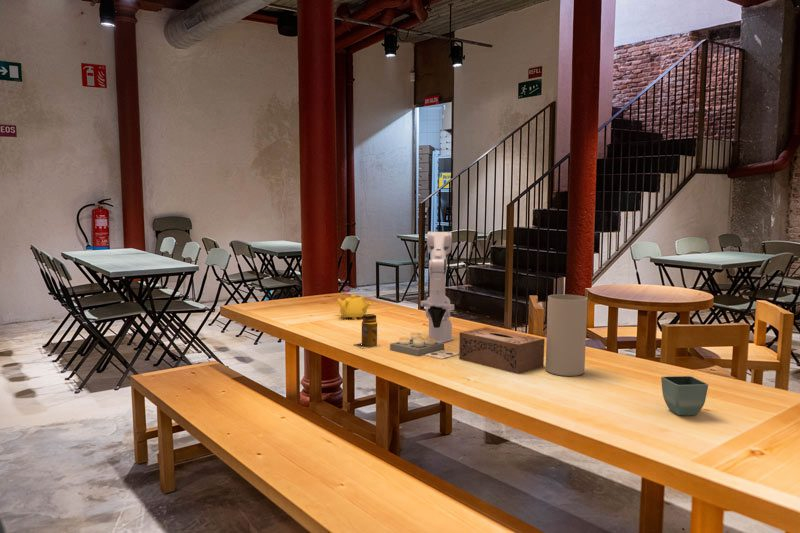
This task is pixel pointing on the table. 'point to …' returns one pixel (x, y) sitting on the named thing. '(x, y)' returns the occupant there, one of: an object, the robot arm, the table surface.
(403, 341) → the button
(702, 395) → the flower pot
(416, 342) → the button
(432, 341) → the button
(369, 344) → the condiment
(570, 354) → the cylinder vase
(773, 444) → the table surface
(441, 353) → the card
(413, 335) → the button
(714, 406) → the table surface
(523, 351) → the tissue box cover
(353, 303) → the teapot
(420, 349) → the board
